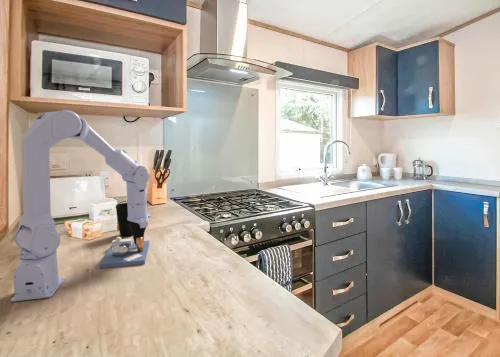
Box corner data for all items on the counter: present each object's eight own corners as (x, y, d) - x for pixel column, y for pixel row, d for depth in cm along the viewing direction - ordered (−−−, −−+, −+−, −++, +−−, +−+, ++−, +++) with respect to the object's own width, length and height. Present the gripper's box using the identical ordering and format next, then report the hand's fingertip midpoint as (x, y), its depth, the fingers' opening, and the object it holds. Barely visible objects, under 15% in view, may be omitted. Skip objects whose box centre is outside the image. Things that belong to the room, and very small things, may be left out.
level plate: (144, 264, 84) (144, 250, 84) (100, 268, 81) (99, 254, 80) (149, 243, 101) (149, 232, 101) (112, 246, 98) (112, 235, 98)
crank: (111, 257, 85) (110, 243, 85) (112, 251, 90) (112, 238, 90) (143, 253, 89) (143, 239, 88) (143, 247, 93) (142, 234, 93)
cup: (130, 238, 107) (129, 207, 106) (112, 237, 108) (111, 206, 107) (142, 232, 114) (141, 203, 113) (125, 231, 116) (123, 202, 115)
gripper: (156, 205, 87) (158, 248, 88) (143, 198, 98) (145, 235, 100) (132, 208, 83) (134, 253, 84) (121, 200, 94) (123, 239, 96)
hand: (138, 244), depth 92 cm, fingers closed, pressing on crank
